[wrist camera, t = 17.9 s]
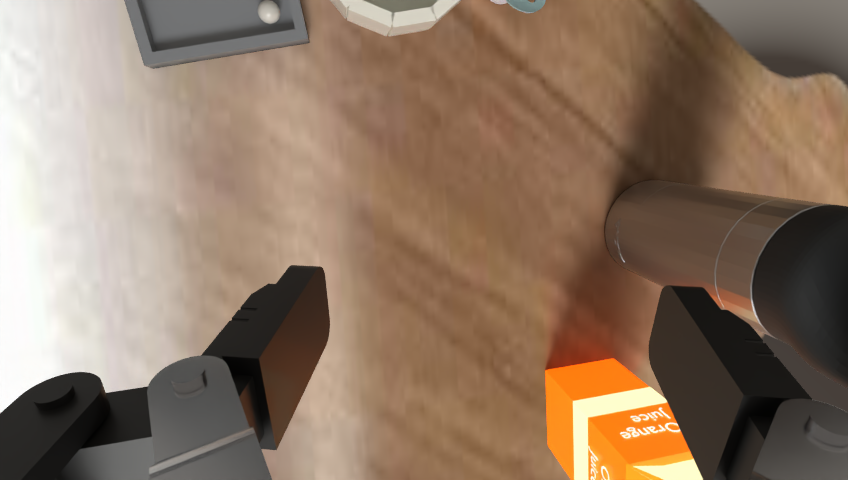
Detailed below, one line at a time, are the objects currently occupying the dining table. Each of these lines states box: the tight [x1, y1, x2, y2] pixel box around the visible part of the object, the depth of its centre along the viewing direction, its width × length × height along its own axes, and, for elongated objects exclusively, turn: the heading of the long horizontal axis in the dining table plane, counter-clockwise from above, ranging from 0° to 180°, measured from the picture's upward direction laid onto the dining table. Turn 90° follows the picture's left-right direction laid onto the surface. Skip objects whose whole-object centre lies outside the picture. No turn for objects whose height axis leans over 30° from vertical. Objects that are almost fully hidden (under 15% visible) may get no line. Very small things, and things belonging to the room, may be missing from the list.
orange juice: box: [545, 358, 703, 480], centre depth 41 cm, size 8×9×20 cm
